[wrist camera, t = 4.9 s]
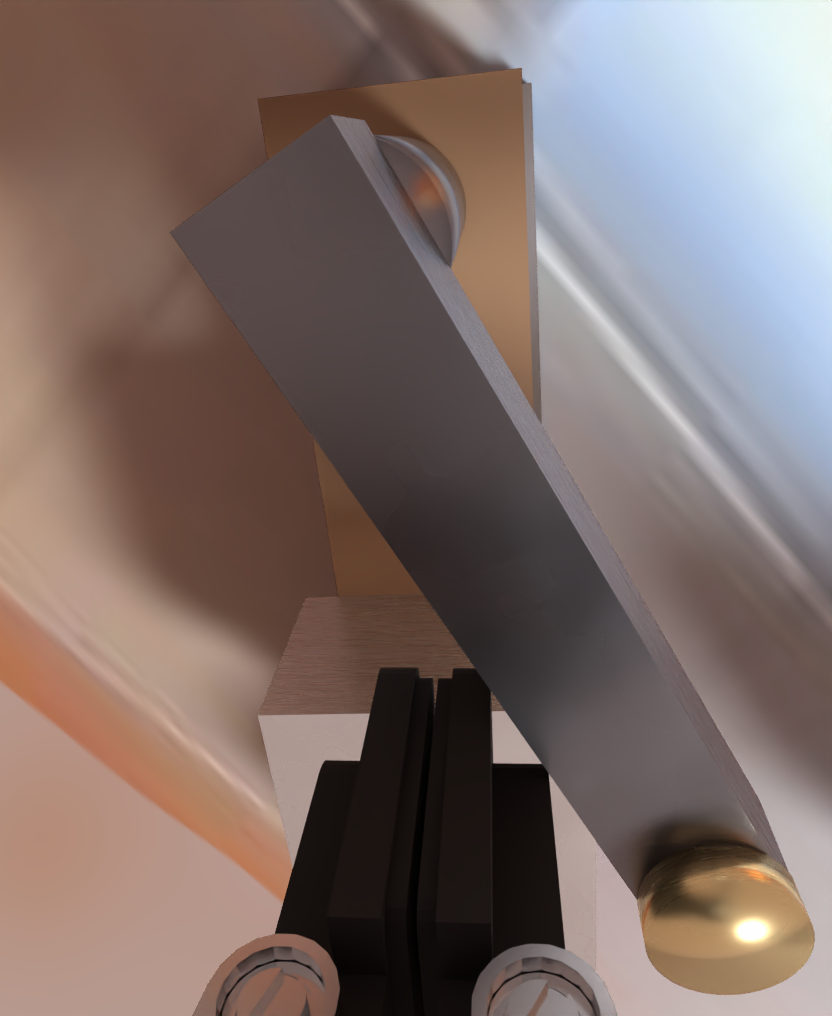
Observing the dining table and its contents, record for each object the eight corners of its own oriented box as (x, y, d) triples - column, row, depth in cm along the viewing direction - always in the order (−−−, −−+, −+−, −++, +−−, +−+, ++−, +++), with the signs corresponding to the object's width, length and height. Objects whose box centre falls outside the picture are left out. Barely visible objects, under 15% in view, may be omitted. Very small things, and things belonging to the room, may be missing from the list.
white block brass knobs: (305, 597, 18) (248, 738, 13) (574, 588, 17) (600, 733, 13) (351, 851, 21) (317, 1026, 17) (577, 851, 20) (599, 1034, 16)
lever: (306, 186, 14) (101, 238, 7) (420, 106, 13) (332, 64, 6) (596, 653, 17) (670, 1013, 10) (698, 609, 17) (854, 963, 10)
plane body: (302, 111, 18) (173, 91, 11) (529, 84, 17) (556, 45, 10) (412, 894, 29) (385, 1146, 22) (554, 896, 28) (576, 1156, 21)
